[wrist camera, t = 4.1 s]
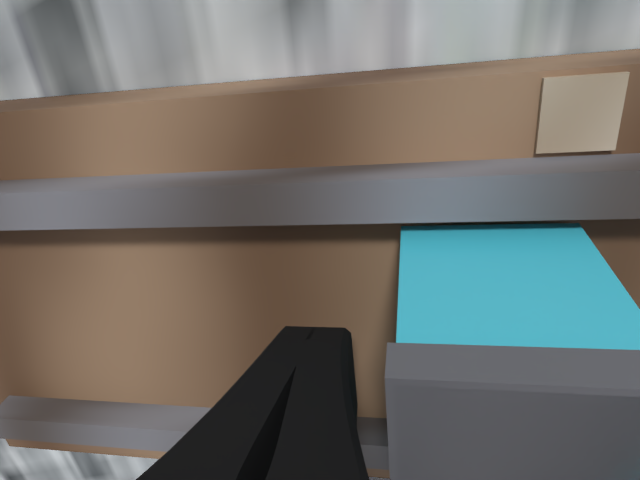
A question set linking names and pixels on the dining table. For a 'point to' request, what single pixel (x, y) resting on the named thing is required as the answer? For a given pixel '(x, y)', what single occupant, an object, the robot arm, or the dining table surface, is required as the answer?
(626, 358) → the fader tab
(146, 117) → the fader console
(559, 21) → the dining table surface
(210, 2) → the dining table surface
